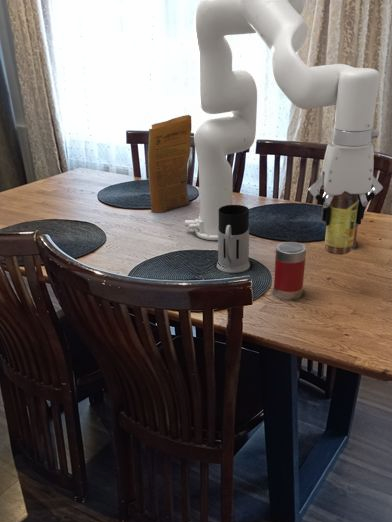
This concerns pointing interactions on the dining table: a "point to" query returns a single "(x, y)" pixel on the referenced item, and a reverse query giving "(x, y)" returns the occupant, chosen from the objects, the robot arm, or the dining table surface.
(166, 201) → the pancake mix bag
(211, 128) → the robot arm
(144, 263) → the dining table surface
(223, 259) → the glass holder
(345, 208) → the sauce bottle
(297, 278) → the can
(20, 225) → the dining table surface
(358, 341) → the dining table surface
